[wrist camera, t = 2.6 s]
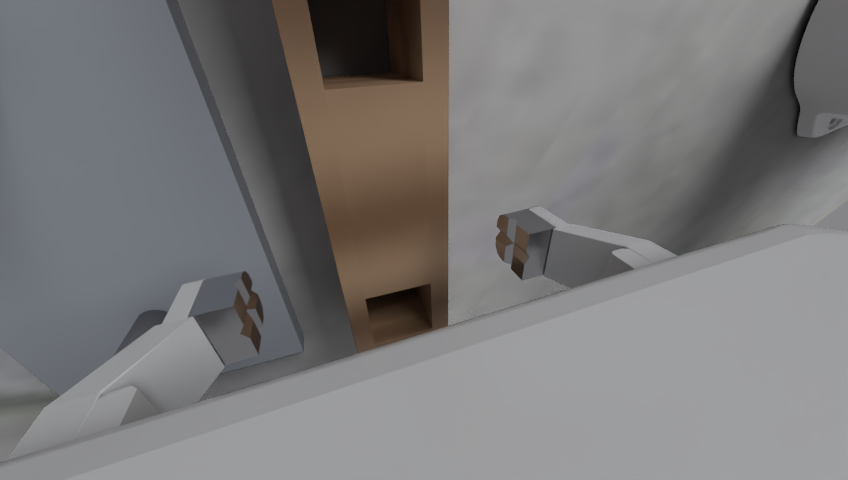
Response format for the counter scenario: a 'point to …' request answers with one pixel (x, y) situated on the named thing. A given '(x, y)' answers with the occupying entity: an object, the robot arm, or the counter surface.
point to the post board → (115, 186)
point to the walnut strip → (381, 168)
